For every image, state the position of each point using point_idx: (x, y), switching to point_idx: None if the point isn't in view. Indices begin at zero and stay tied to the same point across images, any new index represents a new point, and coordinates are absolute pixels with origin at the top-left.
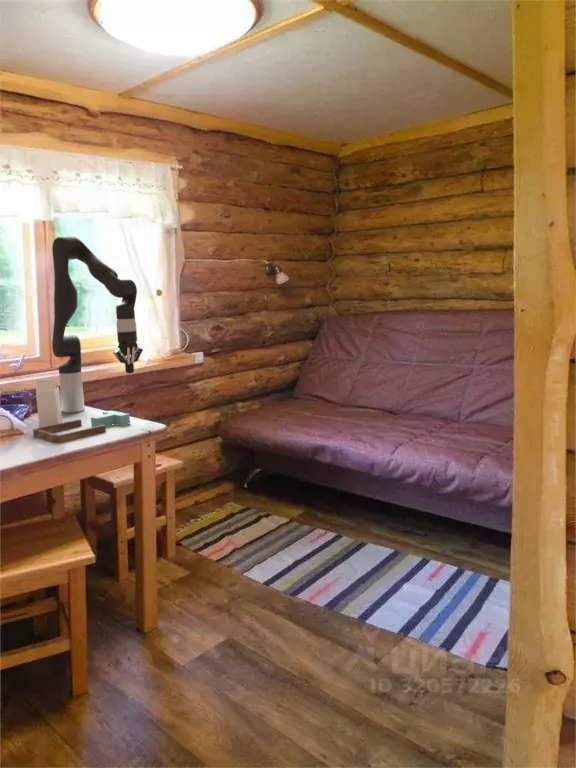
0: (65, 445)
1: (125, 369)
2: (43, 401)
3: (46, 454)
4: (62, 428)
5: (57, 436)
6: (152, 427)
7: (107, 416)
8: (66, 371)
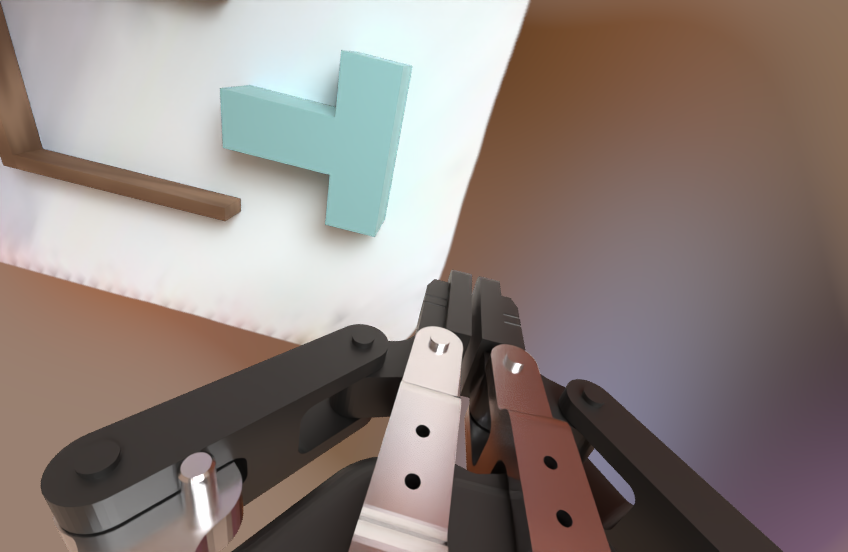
0: (46, 206)
1: (425, 294)
2: None
3: None
4: None
5: (3, 159)
6: None
7: (286, 163)
8: None
